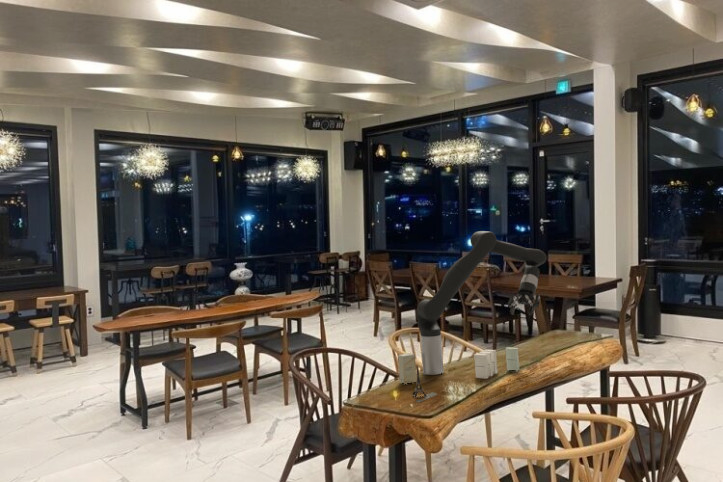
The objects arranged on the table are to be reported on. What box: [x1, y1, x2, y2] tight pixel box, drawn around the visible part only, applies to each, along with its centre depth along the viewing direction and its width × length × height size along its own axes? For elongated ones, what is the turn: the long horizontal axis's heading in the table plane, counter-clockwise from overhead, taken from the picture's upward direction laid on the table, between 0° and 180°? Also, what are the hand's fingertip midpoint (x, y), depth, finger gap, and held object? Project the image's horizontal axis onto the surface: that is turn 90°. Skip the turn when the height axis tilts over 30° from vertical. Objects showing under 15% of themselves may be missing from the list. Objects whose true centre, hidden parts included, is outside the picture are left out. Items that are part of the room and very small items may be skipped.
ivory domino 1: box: [473, 353, 490, 379], centre depth 241 cm, size 2×5×10 cm, turn 52°
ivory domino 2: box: [478, 351, 494, 377], centre depth 245 cm, size 2×5×10 cm, turn 52°
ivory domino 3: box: [483, 349, 498, 375], centre depth 248 cm, size 2×5×10 cm, turn 52°
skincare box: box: [397, 352, 417, 385], centre depth 242 cm, size 6×4×12 cm
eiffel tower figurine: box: [411, 364, 438, 403], centre depth 220 cm, size 15×10×13 cm
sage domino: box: [505, 346, 520, 372], centre depth 250 cm, size 2×5×10 cm, turn 52°
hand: (520, 314), depth 258 cm, fingers open, 8 cm apart
